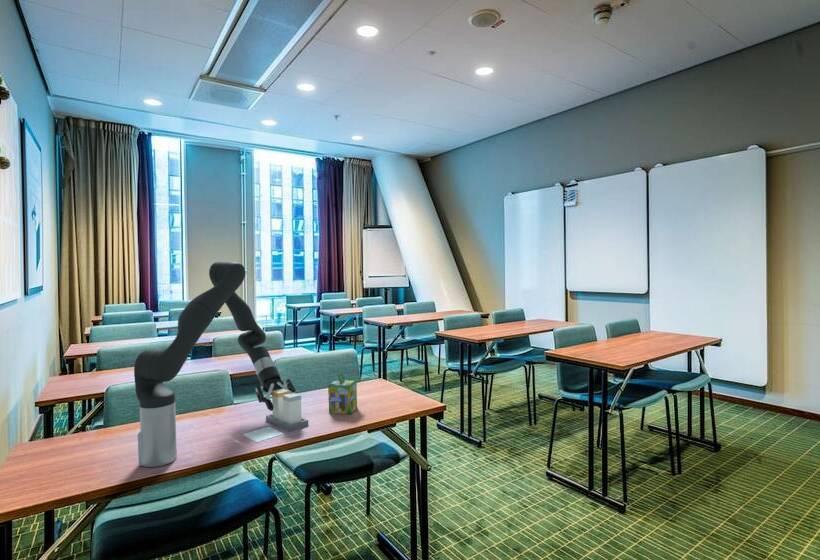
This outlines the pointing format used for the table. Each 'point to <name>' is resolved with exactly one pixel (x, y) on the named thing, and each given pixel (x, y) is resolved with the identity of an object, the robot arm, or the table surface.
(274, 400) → the orange-band box
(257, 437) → the blue-grey pad
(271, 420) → the charcoal tray
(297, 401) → the grey-band box
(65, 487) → the table surface
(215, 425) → the table surface
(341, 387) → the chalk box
